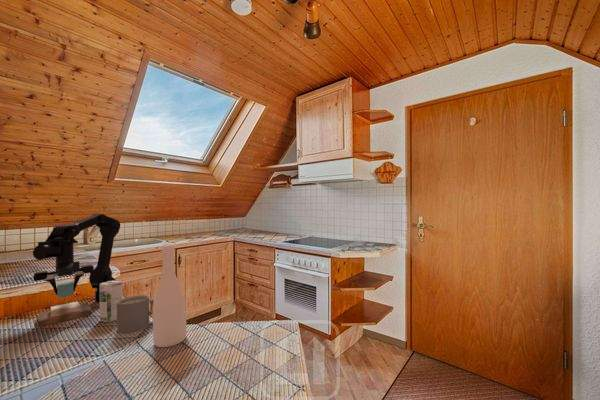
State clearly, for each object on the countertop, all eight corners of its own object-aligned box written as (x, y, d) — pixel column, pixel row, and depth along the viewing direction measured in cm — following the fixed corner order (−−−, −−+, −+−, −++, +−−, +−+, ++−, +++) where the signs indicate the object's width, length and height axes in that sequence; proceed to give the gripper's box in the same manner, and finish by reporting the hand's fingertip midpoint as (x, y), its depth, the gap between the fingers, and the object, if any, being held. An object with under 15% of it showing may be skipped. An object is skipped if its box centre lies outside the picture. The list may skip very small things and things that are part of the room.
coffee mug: (123, 336, 91) (123, 306, 91) (112, 329, 97) (112, 301, 97) (164, 322, 102) (163, 295, 102) (151, 316, 108) (151, 291, 108)
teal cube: (72, 292, 116) (72, 281, 117) (73, 295, 113) (73, 283, 113) (57, 295, 113) (57, 283, 113) (57, 298, 109) (57, 285, 110)
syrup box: (98, 321, 105) (98, 283, 106) (114, 315, 111) (113, 279, 111) (108, 323, 103) (107, 284, 104) (123, 317, 108) (123, 280, 109)
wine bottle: (168, 350, 80) (166, 248, 81) (146, 345, 83) (143, 247, 84) (193, 336, 88) (190, 244, 90) (171, 332, 92) (169, 243, 93)
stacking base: (88, 307, 123) (88, 298, 123) (91, 314, 113) (91, 304, 113) (39, 317, 112) (39, 308, 112) (38, 326, 102) (38, 316, 102)
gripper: (32, 261, 101) (33, 303, 101) (95, 253, 114) (95, 291, 113) (33, 258, 109) (34, 297, 109) (91, 251, 122) (92, 286, 122)
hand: (65, 293), depth 113 cm, fingers closed on teal cube, 5 cm apart
